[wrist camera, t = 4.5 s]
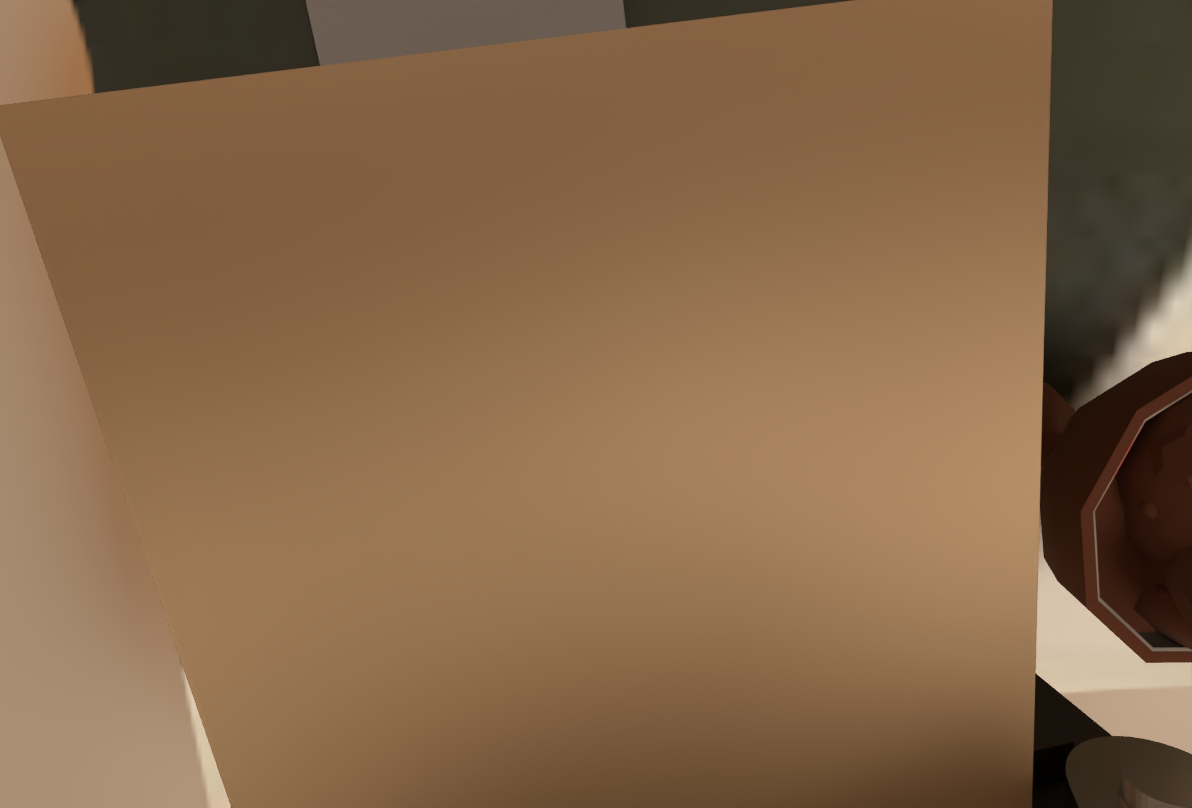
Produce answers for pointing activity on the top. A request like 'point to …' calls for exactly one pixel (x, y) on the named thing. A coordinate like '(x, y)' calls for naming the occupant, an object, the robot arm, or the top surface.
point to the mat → (447, 24)
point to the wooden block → (584, 406)
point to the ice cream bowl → (1125, 505)
